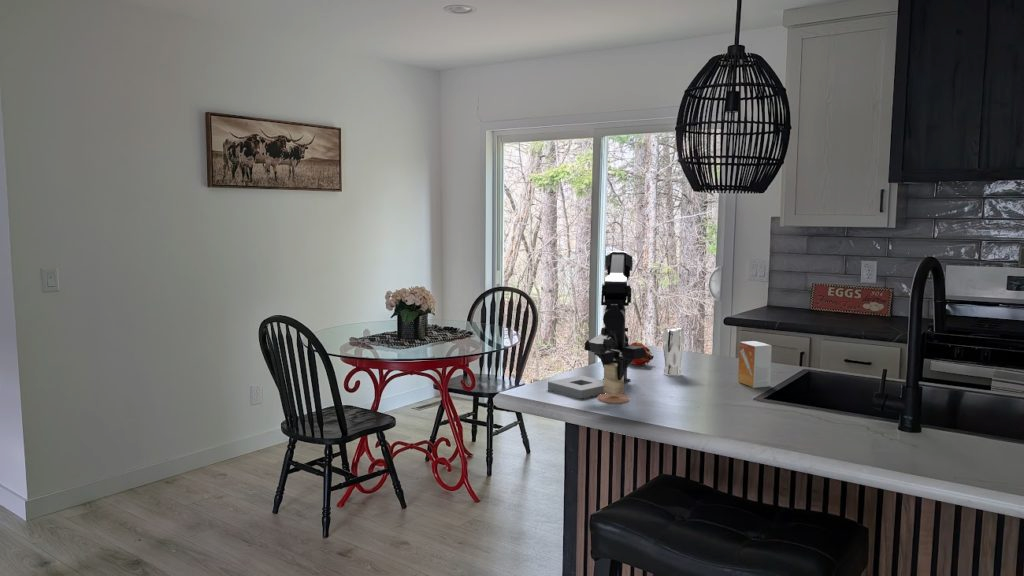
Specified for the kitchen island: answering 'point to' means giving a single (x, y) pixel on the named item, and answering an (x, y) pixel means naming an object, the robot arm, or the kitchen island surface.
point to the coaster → (613, 398)
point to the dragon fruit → (645, 359)
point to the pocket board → (577, 386)
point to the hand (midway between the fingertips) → (613, 378)
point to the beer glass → (673, 350)
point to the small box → (754, 364)
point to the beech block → (612, 380)
